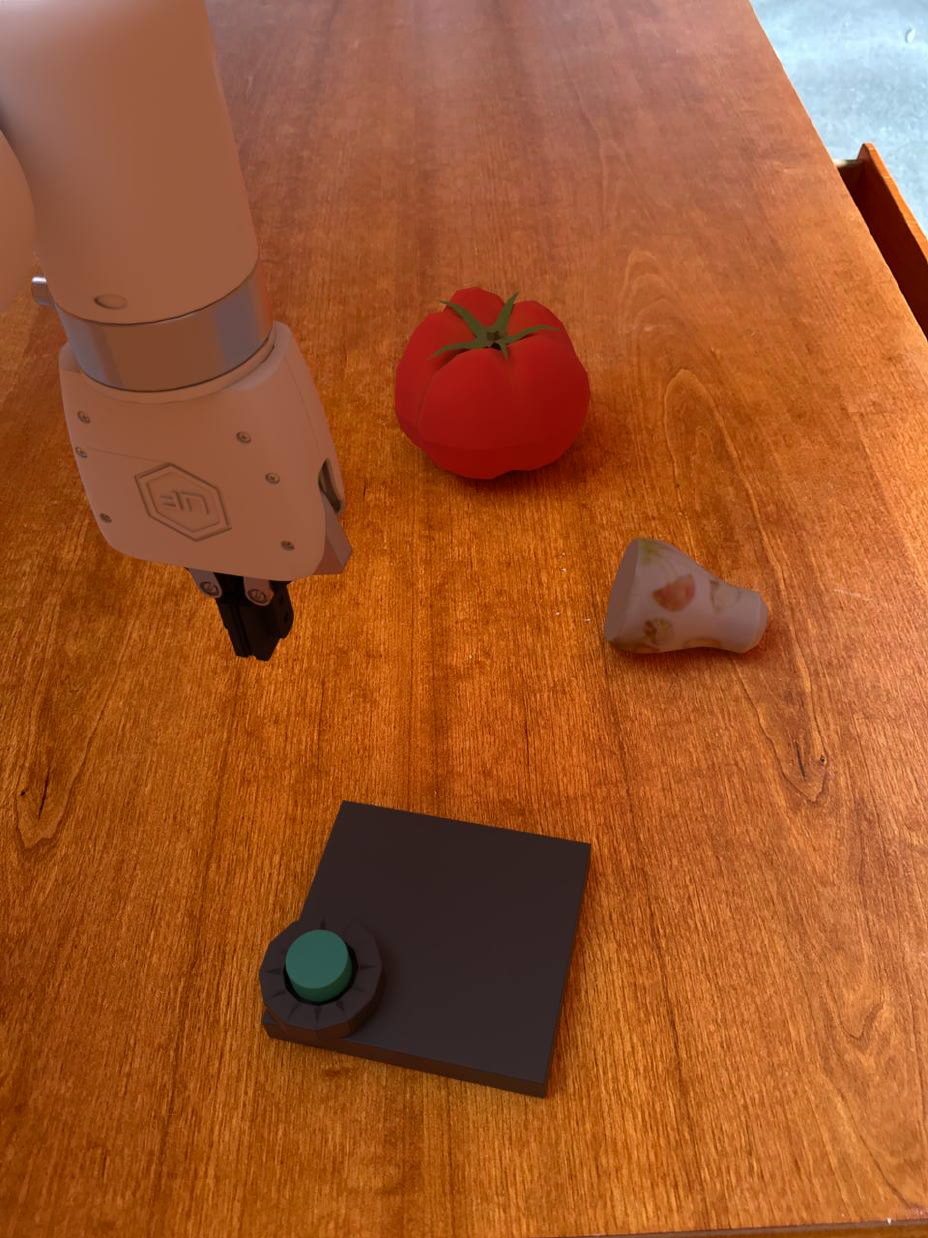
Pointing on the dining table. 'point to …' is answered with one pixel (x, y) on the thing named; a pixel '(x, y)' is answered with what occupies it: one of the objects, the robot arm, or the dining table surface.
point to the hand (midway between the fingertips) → (264, 637)
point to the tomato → (491, 386)
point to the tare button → (318, 965)
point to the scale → (438, 946)
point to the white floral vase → (678, 604)
